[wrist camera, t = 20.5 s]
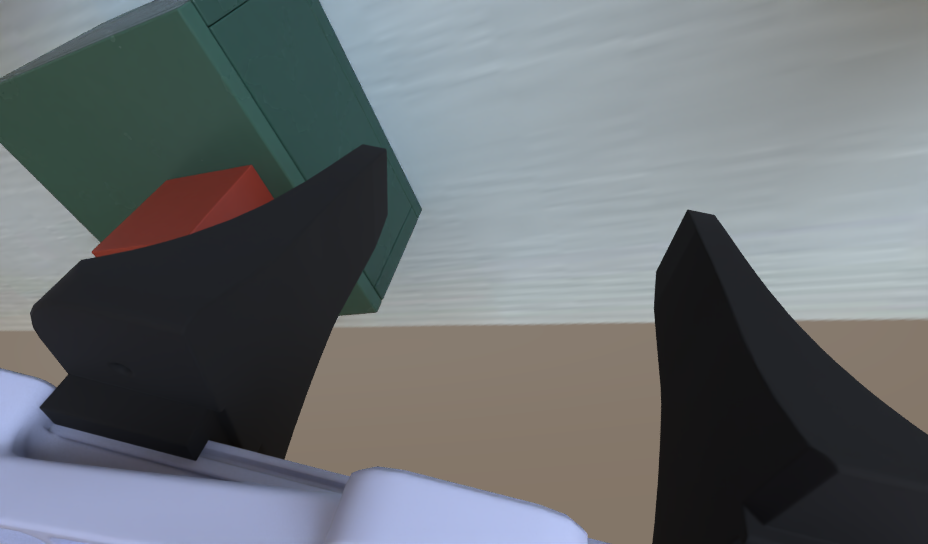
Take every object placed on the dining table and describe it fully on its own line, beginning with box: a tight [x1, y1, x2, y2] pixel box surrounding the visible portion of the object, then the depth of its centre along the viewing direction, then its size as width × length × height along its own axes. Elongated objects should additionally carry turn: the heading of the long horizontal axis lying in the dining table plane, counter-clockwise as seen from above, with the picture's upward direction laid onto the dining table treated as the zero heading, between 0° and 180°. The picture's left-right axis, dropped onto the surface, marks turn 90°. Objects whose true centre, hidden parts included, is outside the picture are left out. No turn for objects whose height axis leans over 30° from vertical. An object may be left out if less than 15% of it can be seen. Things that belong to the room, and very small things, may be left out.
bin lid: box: [0, 1, 381, 316], centre depth 21 cm, size 11×13×1 cm
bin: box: [0, 0, 422, 300], centre depth 23 cm, size 11×13×6 cm
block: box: [92, 165, 274, 257], centre depth 19 cm, size 4×4×4 cm
